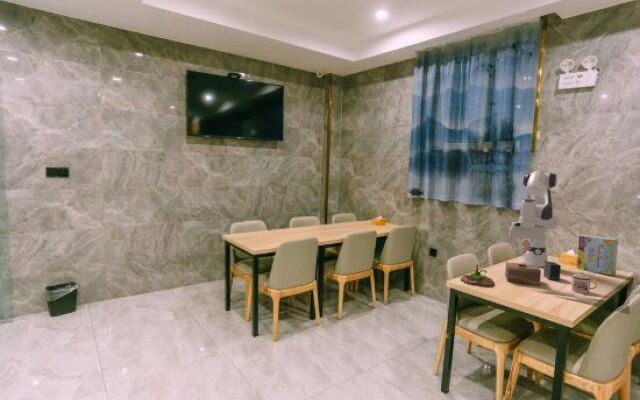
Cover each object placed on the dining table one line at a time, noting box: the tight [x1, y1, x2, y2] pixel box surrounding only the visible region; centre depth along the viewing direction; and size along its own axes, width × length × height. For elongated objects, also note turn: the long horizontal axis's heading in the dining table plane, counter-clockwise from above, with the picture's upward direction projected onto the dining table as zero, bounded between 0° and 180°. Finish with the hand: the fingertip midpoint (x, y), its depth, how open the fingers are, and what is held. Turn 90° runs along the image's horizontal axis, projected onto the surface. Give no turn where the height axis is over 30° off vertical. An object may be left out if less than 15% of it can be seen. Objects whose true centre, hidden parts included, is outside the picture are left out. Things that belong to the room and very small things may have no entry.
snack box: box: [576, 234, 619, 276], centre depth 260 cm, size 22×9×26 cm, turn 34°
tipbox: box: [504, 261, 542, 287], centre depth 232 cm, size 14×18×10 cm
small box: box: [543, 260, 562, 281], centre depth 240 cm, size 11×6×10 cm, turn 168°
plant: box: [459, 264, 496, 288], centre depth 227 cm, size 20×20×11 cm
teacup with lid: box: [571, 271, 598, 294], centre depth 212 cm, size 12×9×12 cm
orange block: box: [522, 239, 529, 250], centre depth 230 cm, size 5×2×5 cm, turn 159°
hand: (525, 245), depth 230 cm, fingers closed on orange block, 2 cm apart
